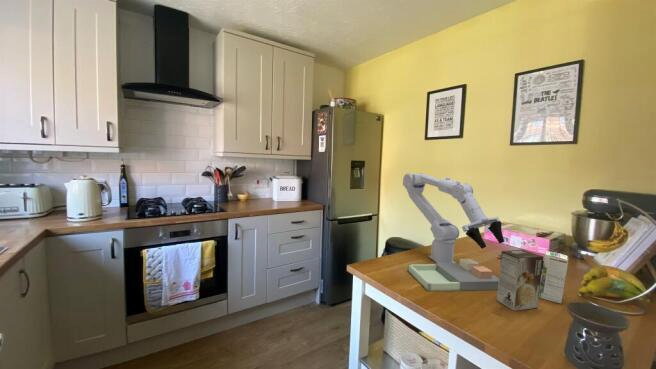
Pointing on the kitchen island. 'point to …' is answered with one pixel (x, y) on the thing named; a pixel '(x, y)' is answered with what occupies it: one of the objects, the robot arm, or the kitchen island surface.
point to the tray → (431, 278)
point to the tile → (468, 263)
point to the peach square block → (481, 272)
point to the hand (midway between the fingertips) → (493, 245)
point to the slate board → (466, 277)
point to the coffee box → (519, 279)
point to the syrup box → (553, 277)
